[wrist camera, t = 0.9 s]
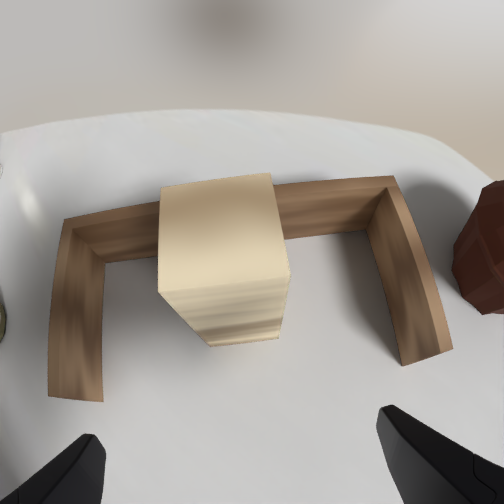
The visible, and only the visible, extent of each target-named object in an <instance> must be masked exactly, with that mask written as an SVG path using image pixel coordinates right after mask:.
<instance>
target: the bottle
mask: <svg viewBox="0 0 504 504" xmlns="http://www.w3.org/2000/svg"><path fill="white" fill-rule="evenodd" d="M5 320H6V318H5V314H4V309H3V306H2V304H1V303H0V341H1V339H2V337H3V335H4V328H5Z"/></svg>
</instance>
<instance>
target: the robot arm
mask: <svg viewBox="0 0 504 504" xmlns="http://www.w3.org/2000/svg"><path fill="white" fill-rule="evenodd" d="M376 429H377V433H378V436H379V439H380V442H381V446H382V449H383V452H384V455H385V459H386V462H387V465H388V468H389V471H390V473H391V475H392V478H393V480H394V482H395V484H396V486H397V489H398V491H399V493H400V495H401V498H402V500H403V502H404V504H504V468H503V467H501V466H499V465H496V464H494V463H492V462H490V461H488V460H486V459H484V458H482V457H480V456H479V455H477V454H473V452H471V451H470V450H468V449H466V448H464V447H463V446H461V445H459V444H457V443H456V442H454V441H452V440H450V439H449V438H447V437H445V436H444V435H442V434H440V433H439V432H437V431H435V430H433V429H432V428H430V427H428V426H427V425H425V424H424V423H422V422H420V421H419V420H417V419H415V418H414V417H412V416H410V415H409V414H407V413H406V412H404V411H402V410H401V409H399V408H398V407H396V406H394V405H388V406H384V407H381V408H380V410H379V413H378V419H377V423H376ZM105 462H106V451H105V449H104V447H103V446H102V444H101V443H100V441H99V439H98V438H97V437H96V436H95V435H94V434H83V435H81V436H80V437H79V438H78V439H77V440H75V441H74V442H73V443H72V444H71V445H69V446H68V447H67V448H66V449H65V450H63V451H62V452H61V453H60V454H59V455H57V456H56V457H55V458H54V459H53V460H51V461H50V462H49V463H48V464H46V465H45V466H44V467H43V468H42V469H40V470H39V471H38V472H37V473H35V474H34V475H33V476H32V477H31V478H29V479H28V480H27V481H26V482H24V483H23V484H22V485H21V486H19V487H18V488H17V489H15V490H14V491H13V492H12V493H10V494H9V495H8V496H6V497H5V498H4V499H2V500H1V501H0V504H101V499H102V493H103V485H104V473H105Z"/></svg>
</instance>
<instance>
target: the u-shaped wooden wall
mask: <svg viewBox="0 0 504 504" xmlns="http://www.w3.org/2000/svg"><path fill="white" fill-rule="evenodd" d="M273 188H274V193H275V198H276V202H277V207H278V212H279V217H280V222H281V227H282V232H283V237H284V240H285V239H293V238H301V237H309V236H317V235H325V234H333V233H341V232H350V231H358V230H366V231H367V234H368V237H369V241H370V244H371V247H372V250H373V253H374V257H375V260H376V263H377V267H378V270H379V273H380V277H381V280H382V284H383V288H384V291H385V295H386V299H387V303H388V306H389V310H390V314H391V318H392V323H393V327H394V331H395V335H396V340H397V344H398V349H399V354H400V358H401V363H402V366H406V365H409V364H412V363H415V362H418V361H421V360H424V359H427V358H430V357H433V356H435V355H438V354H441V353H444V352H446V351H449V350H451V349H453V345H452V341H451V337H450V333H449V329H448V325H447V321H446V317H445V313H444V310H443V306H442V303H441V299H440V296H439V293H438V289H437V286H436V283H435V280H434V277H433V274H432V270H431V268H430V265H429V262H428V259H427V256H426V253H425V250H424V248H423V245H422V242H421V239H420V237H419V234H418V232H417V229H416V227H415V224H414V222H413V219H412V217H411V214H410V212H409V209H408V207H407V205H406V202H405V200H404V198H403V195H402V193H401V191H400V189H399V187H398V184H397V182H396V180H395V178H394V176H377V177H361V178H347V179H334V180H322V181H310V182H300V183H290V184H280V185H273ZM159 213H160V201H157V202H151V203H145V204H139V205H134V206H128V207H123V208H117V209H112V210H107V211H102V212H97V213H92V214H87V215H82V216H78V217H73V218H68V219H64V223H63V228H62V233H61V238H60V243H59V249H58V254H57V261H56V267H55V274H54V282H53V290H52V299H51V309H50V321H49V338H48V396H50V397H57V398H65V399H74V400H83V401H95V402H103V384H102V307H103V288H104V274H105V263H110V262H117V261H125V260H132V259H139V258H147V257H154V256H158V241H159Z"/></svg>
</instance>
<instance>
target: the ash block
mask: <svg viewBox="0 0 504 504" xmlns="http://www.w3.org/2000/svg"><path fill="white" fill-rule="evenodd" d="M290 277H291V274H290V269H289V263H288V258H287V253H286V248H285V242H284V237H283V232H282V227H281V222H280V217H279V212H278V207H277V202H276V198H275V193H274V188H273V183H272V179H271V174H270V173H262V174H253V175H245V176H237V177H229V178H222V179H214V180H207V181H201V182H194V183H188V184H181V185H175V186H169V187H163V188H161V194H160V213H159V241H158V292H159V293H160V295H161V296H162V297H163V298H164V299H165V300H166V301H167V302H168V303H169V304H170V305H171V307H172V308H173V309H174V310H175V311H176V312H177V313H178V314H179V315H180V316H181V317H182V318H183V319H184V320H185V321H186V322H187V323H188V324H189V326H190V327H191V328H192V329H193V330H194V331H195V332H196V333H197V334H198V335H199V336H200V337H201V338H202V339H203V340H204V341H205V342H206V343H207V344H208V345H209V346H210V347H213V346H223V345H232V344H241V343H249V342H257V341H264V340H272V339H279V334H280V329H281V324H282V319H283V314H284V309H285V304H286V298H287V293H288V288H289V283H290Z"/></svg>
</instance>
